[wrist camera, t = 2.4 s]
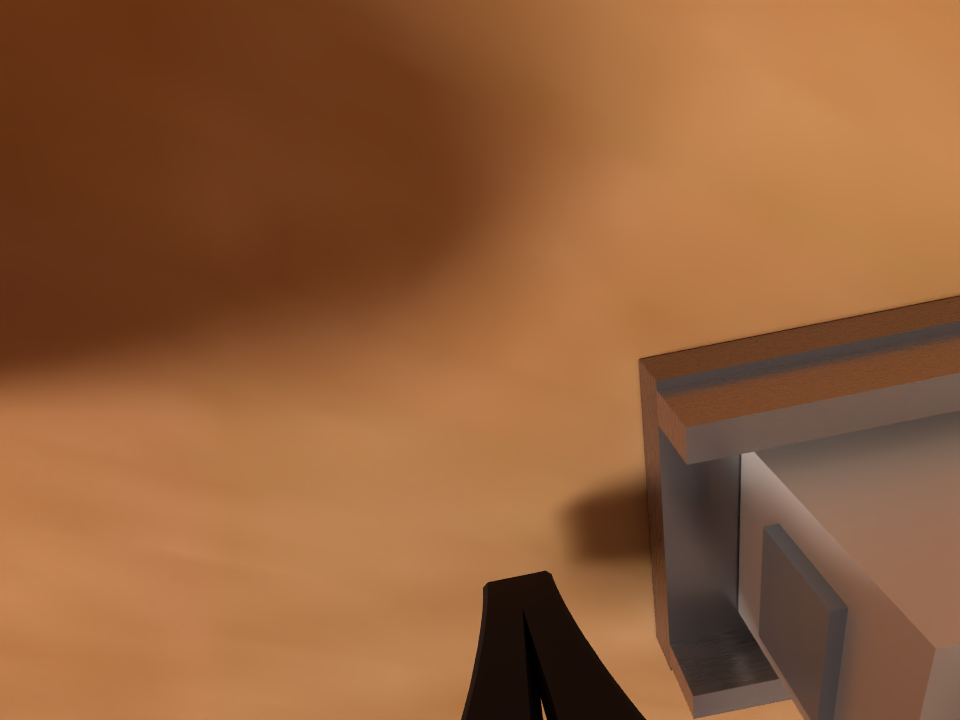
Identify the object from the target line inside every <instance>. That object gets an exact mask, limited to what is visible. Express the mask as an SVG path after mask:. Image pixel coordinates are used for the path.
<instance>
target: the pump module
mask: <svg viewBox="0 0 960 720" xmlns="http://www.w3.org/2000/svg"><path fill="white" fill-rule="evenodd" d="M738 612H739V613H740V615H741V617H742V618H743V620H744V622H745V623H746V625H747V627H748V628H749V630H750V632H751V633H752V635H753V636H754V638H755V640H756V641H757V643H758V645H759V646H760V648H761V650H762V651H763V653H764V654H765V656H766V658H767V659H768V661H769V663H770V664H771V666H772V668H773V669H774V671H775V673H776V674H777V676H778V677H779V679H780V681H781V682H782V684H783V686H784V687H785V689H786V691H787V692H788V694H789V695H790V697H791V699H792V700H793V702H794V704H795V705H796V707H797V709H798V710H799V712H800V714H801V715H802V717H803V718H804V720H960V411H955V412H950V413H945V414H940V415H935V416H930V417H925V418H920V419H915V420H910V421H905V422H900V423H895V424H890V425H885V426H880V427H875V428H870V429H865V430H860V431H855V432H850V433H845V434H840V435H835V436H830V437H825V438H820V439H815V440H810V441H805V442H800V443H795V444H790V445H785V446H780V447H775V448H770V449H765V450H760V451H755V452H749V453H744V454H741V501H740V549H739V597H738Z"/></svg>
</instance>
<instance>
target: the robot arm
mask: <svg viewBox="0 0 960 720" xmlns="http://www.w3.org/2000/svg"><path fill="white" fill-rule="evenodd" d="M541 700H542V704H543V707H544V711H545V715H546V718H547V720H646V719H645V718H644V716H643V715H642V714H641V713H640V712H639V710H638V709H637V708H636V707H635V705H634V704H633V703H632V702H631V700H630V699H629V698H628V697H627V695H626V694H625V693H624V691H623V690H622V689H621V687H620V686H619V685H618V684H617V682H616V681H615V680H614V678H613V677H612V676H611V674H610V673H609V671H608V670H607V669H606V667H605V666H604V665H603V663H602V662H601V660H600V659H599V657H598V656H597V654H596V653H595V651H594V650H593V648H592V647H591V645H590V644H589V642H588V641H587V640H586V638H585V637H584V635H583V633H582V632H581V630H580V629H579V627H578V625H577V624H576V622H575V620H574V619H573V617H572V615H571V614H570V612H569V610H568V608H567V607H566V605H565V603H564V601H563V599H562V597H561V595H560V593H559V591H558V589H557V587H556V584H555V582H554V580H553V577H552V574H550V573H549V572H547V571H542V572H537V573H532V574H527V575H522V576H517V577H512V578H507V579H502V580H497V581H492V582H488V583H487V584H486V585H485V586H484V587H483V611H482V621H481V629H480V636H479V642H478V648H477V653H476V658H475V663H474V669H473V674H472V679H471V683H470V688H469V692H468V695H467V699H466V703H465V707H464V711H463V715H462V719H461V720H543V715H542V706H541Z"/></svg>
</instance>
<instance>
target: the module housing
mask: <svg viewBox="0 0 960 720" xmlns="http://www.w3.org/2000/svg"><path fill="white" fill-rule="evenodd" d="M639 372H640V388H641V403H642V419H643V434H644V450H645V465H646V481H647V497H648V512H649V528H650V543H651V559H652V574H653V590H654V605H655V621H656V637H657V639H658V642H659V644H660V646H661V649H662V651H663V653H664V656H665V658H666V660H667V663H668V665H669V667H670V670H673V672H674V674H675V676H676V679H677V681H678V683H679V686H680V688H681V690H682V693H683V695H684V697H685V700H686V702H687V704H688V706H689V709H690V711H691V713H692V716H693V718H694V719H696V718H701V717H706V716H710V715H715V714H720V713H725V712H730V711H735V710H740V709H745V708H750V707H755V706H760V705H765V704H769V703H774V702H779V701H784V700H789V699H791V697H790V695H789V694H788V692H787V691H786V689H785V687H784V686H783V684H782V682H781V681H780V679H779V677H778V676H777V674H776V673H775V671H774V669H773V668H772V666H771V664H770V663H769V661H768V659H767V658H766V656H765V654H764V653H763V651H762V650H761V648H760V646H759V645H758V643H757V641H756V640H755V638H754V636H753V635H752V633H751V632H750V630H749V628H748V627H747V625H746V623H745V622H744V620H743V618H742V617H741V615H740V613H739V612H738V597H739V549H740V501H741V454H744V453H749V452H755V451H760V450H765V449H770V448H775V447H780V446H785V445H790V444H795V443H800V442H805V441H810V440H815V439H820V438H825V437H830V436H835V435H840V434H845V433H850V432H855V431H860V430H865V429H870V428H875V427H880V426H885V425H890V424H895V423H900V422H905V421H910V420H915V419H920V418H925V417H930V416H935V415H940V414H945V413H950V412H955V411H960V296H958V297H953V298H948V299H943V300H938V301H933V302H928V303H923V304H918V305H913V306H908V307H903V308H898V309H893V310H888V311H883V312H878V313H872V314H867V315H862V316H857V317H852V318H847V319H842V320H837V321H832V322H827V323H822V324H817V325H812V326H807V327H802V328H797V329H792V330H787V331H781V332H776V333H771V334H766V335H761V336H756V337H751V338H746V339H741V340H736V341H731V342H726V343H721V344H716V345H711V346H706V347H701V348H696V349H690V350H685V351H680V352H675V353H670V354H665V355H660V356H655V357H650V358H645V359H640V360H639Z"/></svg>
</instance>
